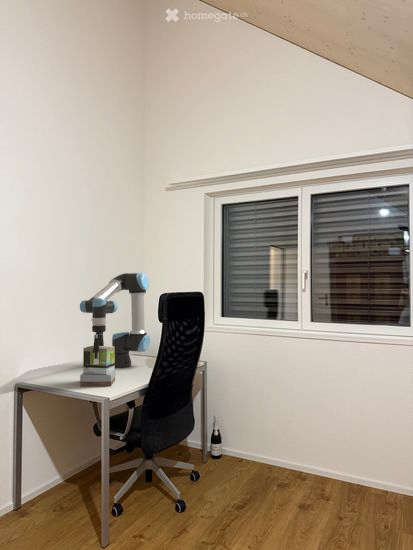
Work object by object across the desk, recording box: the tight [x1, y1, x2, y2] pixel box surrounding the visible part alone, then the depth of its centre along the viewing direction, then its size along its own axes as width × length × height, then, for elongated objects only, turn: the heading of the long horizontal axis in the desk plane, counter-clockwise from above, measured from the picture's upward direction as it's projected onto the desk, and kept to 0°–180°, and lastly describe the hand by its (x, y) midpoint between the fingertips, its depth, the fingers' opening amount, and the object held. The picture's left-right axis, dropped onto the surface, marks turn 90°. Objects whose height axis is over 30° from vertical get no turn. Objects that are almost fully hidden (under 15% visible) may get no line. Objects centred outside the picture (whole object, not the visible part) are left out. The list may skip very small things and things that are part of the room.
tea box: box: [82, 345, 116, 374], centre depth 229 cm, size 15×10×15 cm, turn 75°
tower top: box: [79, 369, 116, 383], centre depth 228 cm, size 14×17×4 cm
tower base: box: [79, 376, 116, 388], centre depth 228 cm, size 14×17×4 cm
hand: (98, 362), depth 228 cm, fingers open, 13 cm apart
